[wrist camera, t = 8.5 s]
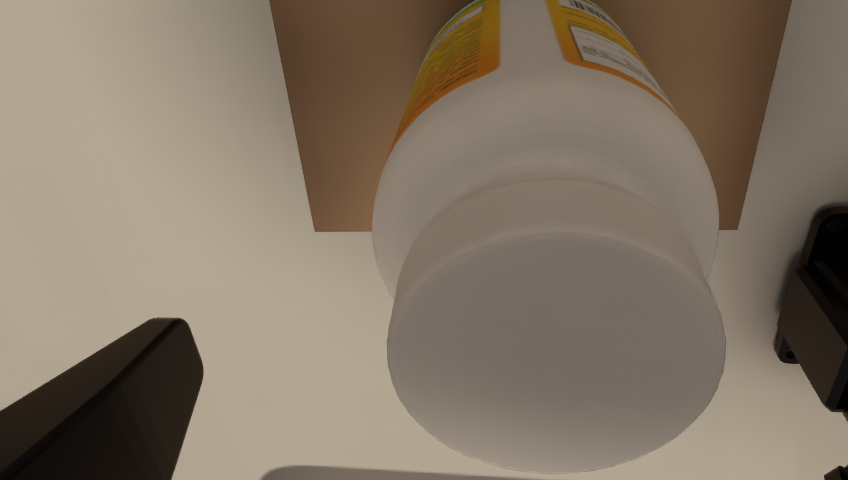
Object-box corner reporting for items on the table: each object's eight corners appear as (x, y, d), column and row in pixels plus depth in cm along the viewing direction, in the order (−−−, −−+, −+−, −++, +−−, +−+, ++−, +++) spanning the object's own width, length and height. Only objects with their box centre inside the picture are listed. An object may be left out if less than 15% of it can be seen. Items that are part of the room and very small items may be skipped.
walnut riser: (755, -113, 15) (816, -104, 12) (701, 171, 20) (737, 229, 17) (300, -79, 17) (256, -65, 14) (341, 177, 21) (314, 231, 18)
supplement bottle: (429, 194, 17) (364, 505, 9) (405, -8, 14) (279, 181, 6) (628, 185, 16) (752, 517, 8) (644, -31, 14) (859, 151, 5)
